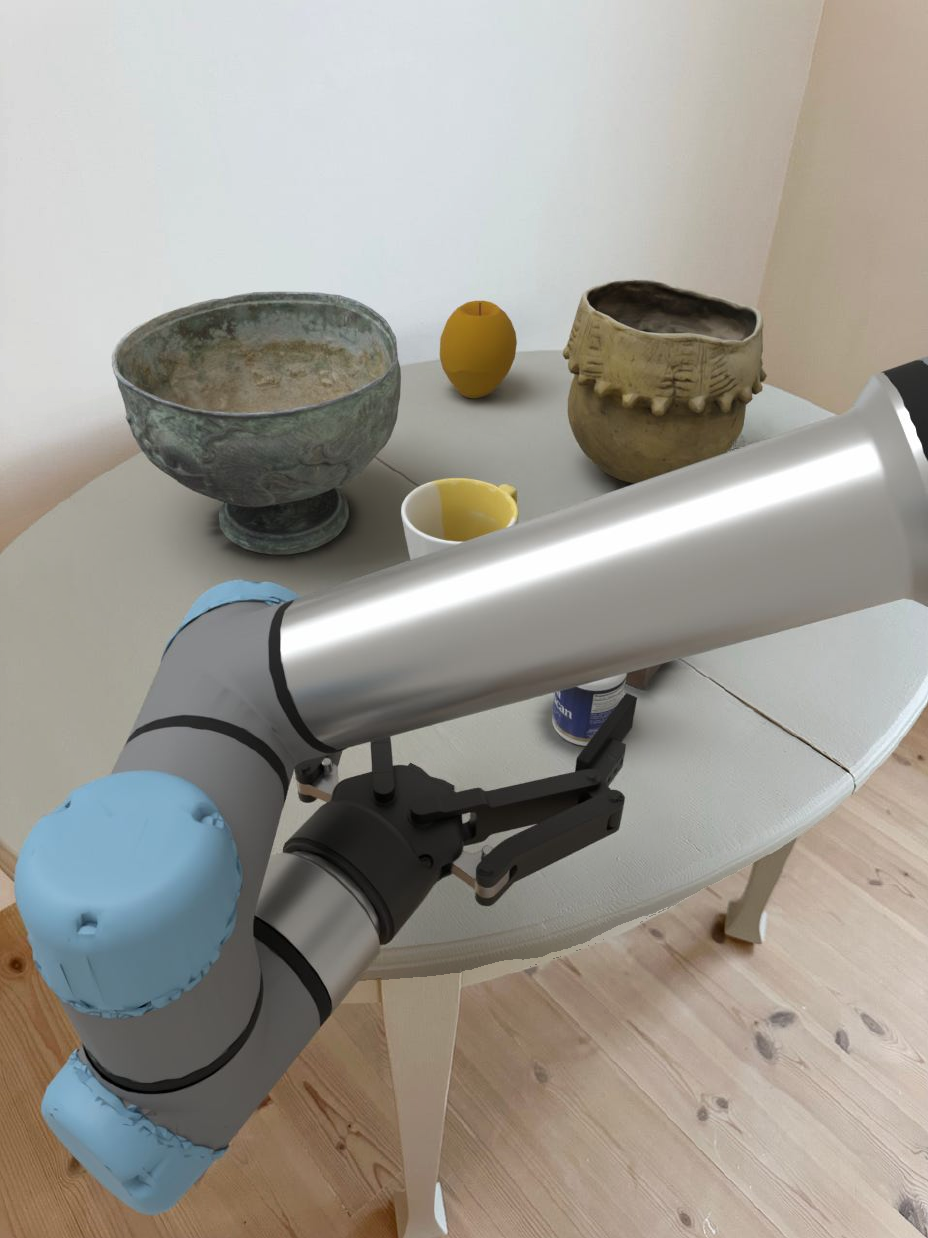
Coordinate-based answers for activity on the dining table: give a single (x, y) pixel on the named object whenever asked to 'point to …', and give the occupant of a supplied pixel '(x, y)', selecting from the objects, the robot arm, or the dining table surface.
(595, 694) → the pill bottle
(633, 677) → the walnut block
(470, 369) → the apple
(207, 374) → the decorative bowl
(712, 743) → the dining table surface
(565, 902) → the dining table surface
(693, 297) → the clay pot
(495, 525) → the mug
